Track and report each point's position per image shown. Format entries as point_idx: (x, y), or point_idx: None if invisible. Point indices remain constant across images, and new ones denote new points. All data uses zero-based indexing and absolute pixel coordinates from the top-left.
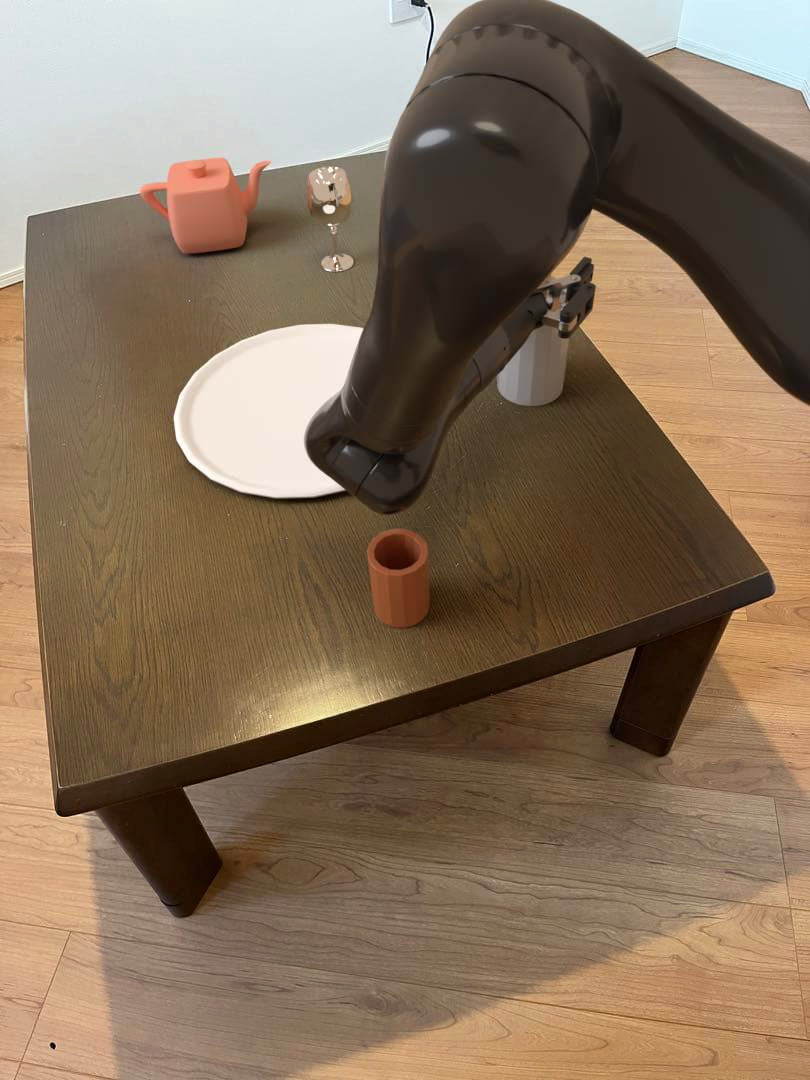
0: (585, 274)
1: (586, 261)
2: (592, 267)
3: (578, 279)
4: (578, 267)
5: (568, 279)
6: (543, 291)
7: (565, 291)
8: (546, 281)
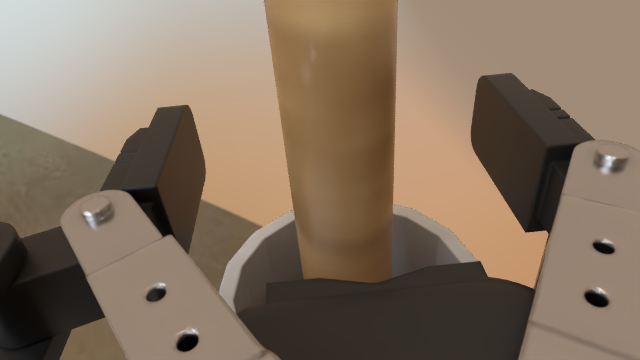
0: (571, 129)
1: (518, 85)
2: (546, 99)
3: (635, 157)
4: (532, 112)
5: (607, 176)
6: (387, 255)
7: (394, 212)
8: (592, 247)
